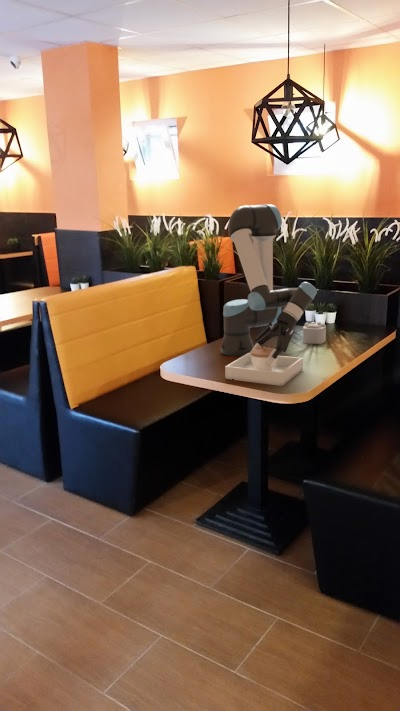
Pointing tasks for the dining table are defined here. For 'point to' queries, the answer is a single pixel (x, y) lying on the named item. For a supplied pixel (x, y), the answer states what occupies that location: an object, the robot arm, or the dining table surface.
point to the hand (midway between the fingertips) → (258, 361)
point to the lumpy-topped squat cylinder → (314, 333)
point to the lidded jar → (262, 358)
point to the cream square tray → (278, 375)
